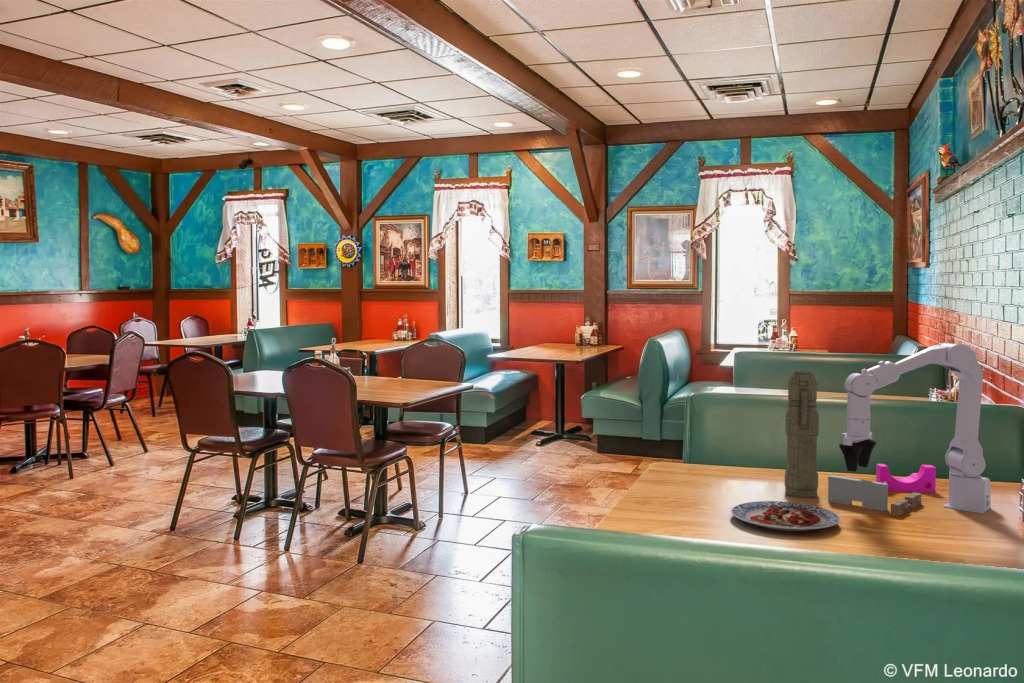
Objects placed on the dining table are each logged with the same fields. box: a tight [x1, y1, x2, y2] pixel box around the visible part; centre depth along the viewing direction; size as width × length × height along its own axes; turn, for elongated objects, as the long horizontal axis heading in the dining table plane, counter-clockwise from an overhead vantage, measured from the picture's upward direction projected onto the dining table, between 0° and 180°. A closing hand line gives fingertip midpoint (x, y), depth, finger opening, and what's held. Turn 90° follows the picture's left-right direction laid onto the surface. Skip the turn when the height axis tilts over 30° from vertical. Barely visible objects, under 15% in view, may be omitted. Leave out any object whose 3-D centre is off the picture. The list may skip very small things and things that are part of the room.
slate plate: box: [827, 474, 889, 512], centre depth 215 cm, size 15×2×7 cm, turn 45°
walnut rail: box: [890, 491, 922, 517], centre depth 211 cm, size 17×2×3 cm, turn 135°
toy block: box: [875, 463, 937, 493], centre depth 233 cm, size 15×6×8 cm, turn 82°
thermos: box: [784, 371, 820, 499], centre depth 226 cm, size 9×12×35 cm
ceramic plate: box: [730, 500, 841, 532], centre depth 200 cm, size 26×26×3 cm
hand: (857, 468), depth 215 cm, fingers open, 7 cm apart
